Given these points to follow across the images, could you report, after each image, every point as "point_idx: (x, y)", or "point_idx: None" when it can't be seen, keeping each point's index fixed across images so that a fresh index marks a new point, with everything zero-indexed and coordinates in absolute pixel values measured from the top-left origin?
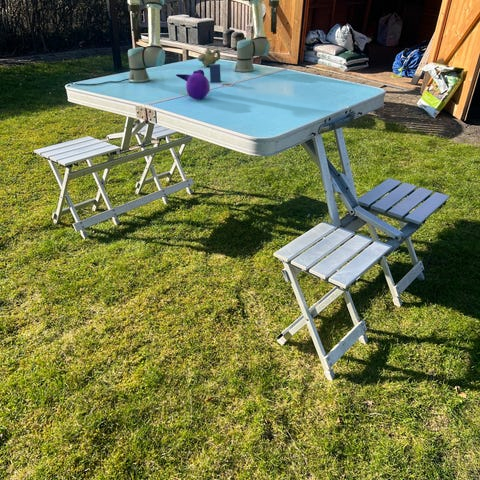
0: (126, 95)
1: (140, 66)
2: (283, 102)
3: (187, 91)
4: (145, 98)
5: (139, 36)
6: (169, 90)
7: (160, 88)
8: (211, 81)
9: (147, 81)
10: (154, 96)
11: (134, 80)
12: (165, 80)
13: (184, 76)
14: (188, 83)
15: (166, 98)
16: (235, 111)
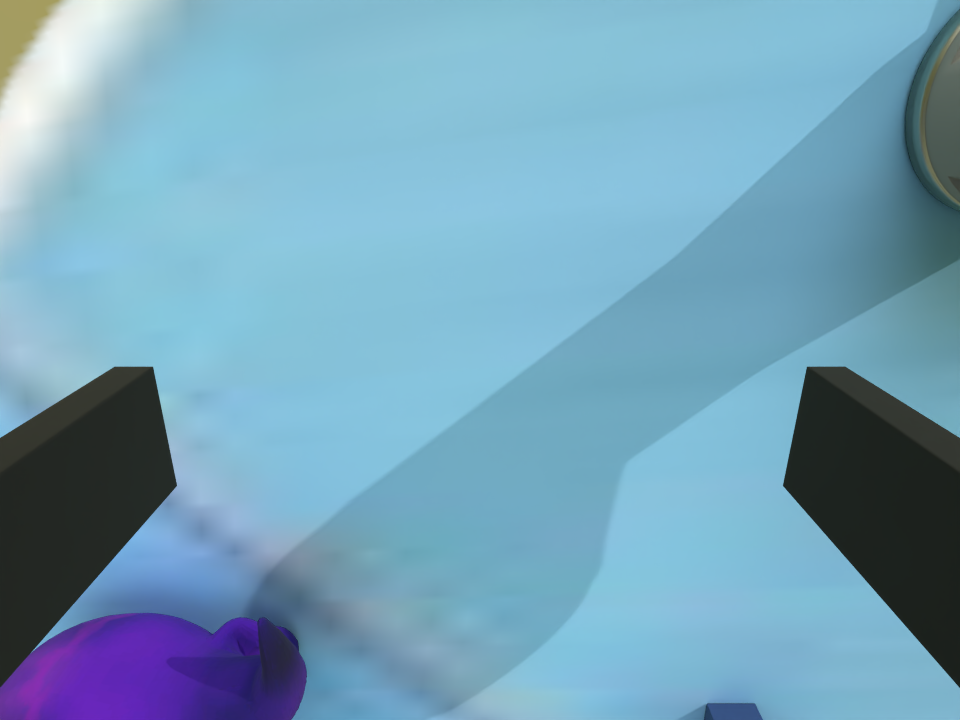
0: (293, 60)
1: None
2: None
3: (59, 636)
4: (168, 272)
5: (844, 487)
6: (470, 442)
7: (568, 361)
8: (708, 715)
9: (940, 200)
10: (246, 341)
11: (943, 52)
12: (935, 375)
13: (261, 674)
14: (5, 700)
15: (175, 440)
16: None
